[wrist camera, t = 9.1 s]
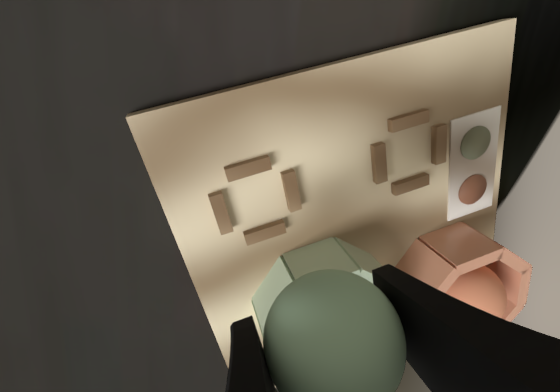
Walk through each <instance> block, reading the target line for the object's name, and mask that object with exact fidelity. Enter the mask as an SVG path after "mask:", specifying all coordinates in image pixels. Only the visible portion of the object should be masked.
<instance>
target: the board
mask: <svg viewBox="0 0 560 392" xmlns="http://www.w3.org/2000/svg"><path fill="white" fill-rule="evenodd" d="M516 19H517V18H507V19H500V20H496V21H492V22H488V23H484V24H480V25H476V26H472V27H468V28H464V29H460V30H456V31H452V32H448V33H444V34H441V35H437V36H433V37H429V38H425V39H421V40H417V41H413V42H409V43H405V44H401V45H397V46H393V47H389V48H385V49H381V50H377V51H373V52H369V53H366V54H362V55H358V56H354V57H350V58H346V59H342V60H338V61H334V62H330V63H326V64H322V65H318V66H314V67H310V68H306V69H302V70H298V71H294V72H291V73H287V74H283V75H279V76H275V77H271V78H267V79H263V80H259V81H255V82H251V83H247V84H243V85H239V86H235V87H231V88H227V89H223V90H219V91H216V92H212V93H208V94H204V95H200V96H196V97H192V98H188V99H184V100H180V101H176V102H172V103H168V104H164V105H160V106H156V107H152V108H148V109H144V110H141V111H137V112H133V113H129V114H127V116H126V120H127V122H128V125H129V127H130V129H131V132H132V134H133V137H134V139H135V142H136V144H137V147H138V149H139V151H140V154H141V156H142V159H143V161H144V164H145V166H146V168H147V171H148V173H149V176H150V178H151V181H152V183H153V186H154V188H155V190H156V193H157V195H158V198H159V200H160V203H161V205H162V208H163V210H164V212H165V215H166V217H167V220H168V222H169V225H170V227H171V230H172V232H173V234H174V237H175V239H176V242H177V244H178V247H179V249H180V252H181V254H182V256H183V259H184V261H185V264H186V266H187V269H188V271H189V274H190V276H191V278H192V281H193V283H194V286H195V288H196V291H197V293H198V296H199V298H200V300H201V303H202V305H203V308H204V310H205V313H206V315H207V317H208V320H209V322H210V325H211V327H212V330H213V332H214V335H215V337H216V339H217V342H218V344H219V347H220V349H221V352H222V354H223V357H224V359H225V361H226V364H227V366H228V369H229V358H230V343H231V332H230V326H231V325H232V323H233V322H235V321H238V320H241V319H243V318H246V317H249V316H251V315H252V317H253V320H254V323H255V326H256V329H257V332H258V335H259V338H260V341H261V344H262V347H263V337H262V334H261V330H260V327H259V324H258V321H257V317H256V314H255V311H254V308H253V305H252V301H251V300H252V297H253V295H254V294H255V292H256V291H257V289H258V288H259V286H260V285H261V283H262V282H263V280H264V279H265V277H266V276H267V274H268V273H269V271H270V270H271V268H272V267H273V265H274V263H275V262H276V260H277V259H278V257H279V256H281V257H283V255H282V254H284V253H286V252H289V251H292V250H295V249H298V248H301V247H304V246H307V245H310V244H312V243H315V242H318V241H321V240H324V239H327V238H330V237H333V238H334V237H337V238H339V239H341V240H343V241H345V242H347V243H349V244H351V245H353V246H355V247H357V248H359V249H361V250H364V251H366V252H368V253H370V254H372V255H373V256H374V258H375V259H376V260H377V261H378V262H379V263H380V264H381V265H382V266H384V265H387V264H390V265H392V266H394V267H395V266H396V265H397V263H398V262H399V261H400V259H401V258H402V257H403V255H404V254H405V253H406V251H407V250H408V249H409V247H410V246H411V245H412V243H413V242H414V241H415V239H416V238H417V239H419V236H422V235H424V234H427V233H430V232H433V231H435V230H438V229H441V228H444V227H446V226H449V225H452V224H455V223H457V222H464V223H466V224H467V225H469V226H470V227H472V228H474V229H475V230H477V231H479V232H480V233H482V234H484V235H485V236H487V237H489V238H490V239H492V240H494V230H495V220H496V211H497V201H498V192H499V182H500V172H501V163H502V153H503V144H504V134H505V124H506V115H507V105H508V96H509V86H510V77H511V67H512V57H513V48H514V38H515V29H516ZM275 388H276V386H275Z"/></svg>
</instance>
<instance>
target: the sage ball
mask: <svg viewBox="0 0 560 392" xmlns="http://www.w3.org/2000/svg"><path fill="white" fill-rule="evenodd" d="M263 350H264V355H265V360H266V364H267V367H268V371H269V374H270V376H271V379H272V381H273V382H274V384H275V386H276V388H277V389H278V391H279V392H395V391H396V390H397V388H398V386H399V384H400V381H401V379H402V376H403V373H404V369H405V363H406V339H405V334H404V329H403V326H402V323H401V320H400V318H399V315H398V314H397V312H396V310H395V308H394V306H393V305H392V303H391V302H390V300H389V299H388V298H387V297H386V295H385V294H384V293H383V292H382V291H381V290H380V289H379V288H378V287H376V286H375V285H374V284H372V283H371V282H370V281H368V280H367V279H365V278H363V277H361V276H359V275H357V274H354V273H351V272H347V271H343V270H335V269H325V270H318V271H313V272H310V273H307V274H305V275H303V276H301V277H299V278H297V279H295V280H294V281H293V282H291V283H290V284H289V285H287V286H286V287H285V288H284V289H283V290H282V291H281V292H280V294H279V295H278V296H277V298H276V299H275V301H274V303H273V304H272V306H271V308H270V310H269V312H268V315H267V318H266V322H265V326H264V334H263Z"/></svg>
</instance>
